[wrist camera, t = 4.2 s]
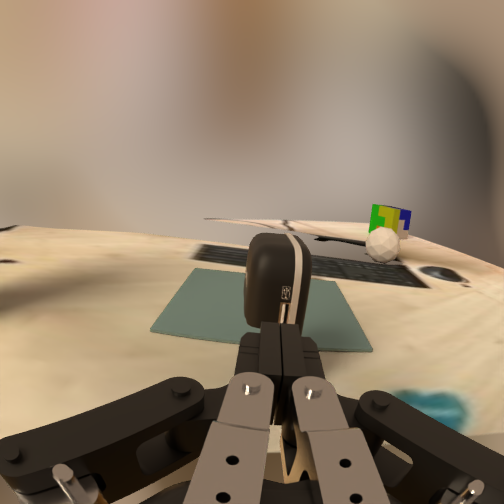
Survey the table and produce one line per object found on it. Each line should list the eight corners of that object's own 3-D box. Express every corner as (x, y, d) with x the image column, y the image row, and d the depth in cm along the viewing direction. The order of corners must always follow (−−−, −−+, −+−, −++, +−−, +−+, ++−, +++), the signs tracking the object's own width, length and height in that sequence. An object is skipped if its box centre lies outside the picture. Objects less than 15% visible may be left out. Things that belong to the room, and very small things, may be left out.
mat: (150, 331, 28) (150, 328, 28) (195, 269, 47) (195, 267, 47) (372, 351, 27) (372, 349, 27) (334, 283, 47) (334, 281, 47)
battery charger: (237, 350, 27) (248, 225, 24) (279, 352, 27) (296, 229, 24) (237, 402, 20) (250, 247, 17) (289, 403, 20) (316, 252, 17)
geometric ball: (374, 270, 65) (382, 240, 68) (403, 268, 58) (409, 235, 61) (354, 254, 62) (363, 223, 65) (383, 250, 55) (391, 216, 58)
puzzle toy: (406, 239, 95) (411, 211, 93) (389, 239, 91) (394, 209, 89) (386, 233, 104) (390, 206, 102) (368, 232, 100) (372, 204, 97)
